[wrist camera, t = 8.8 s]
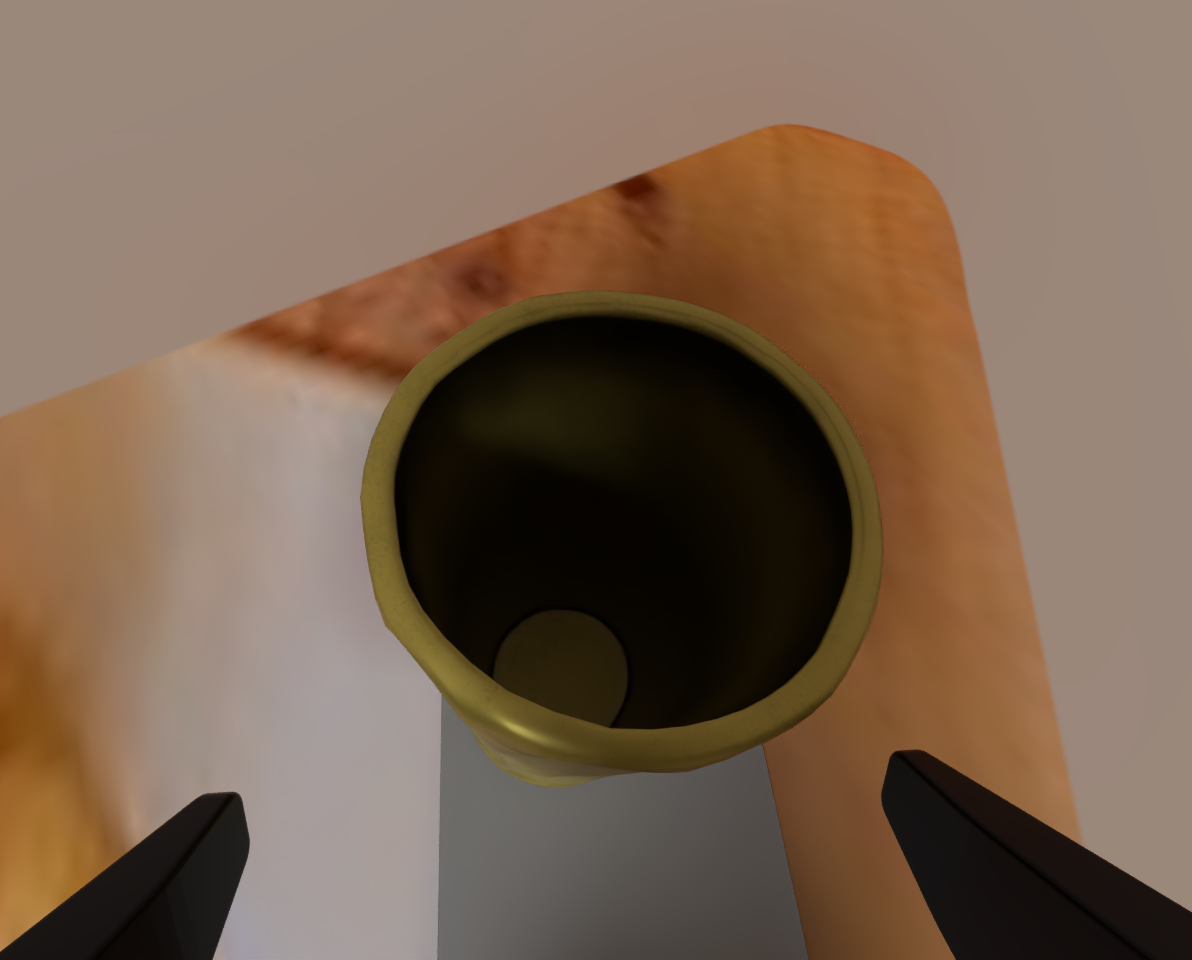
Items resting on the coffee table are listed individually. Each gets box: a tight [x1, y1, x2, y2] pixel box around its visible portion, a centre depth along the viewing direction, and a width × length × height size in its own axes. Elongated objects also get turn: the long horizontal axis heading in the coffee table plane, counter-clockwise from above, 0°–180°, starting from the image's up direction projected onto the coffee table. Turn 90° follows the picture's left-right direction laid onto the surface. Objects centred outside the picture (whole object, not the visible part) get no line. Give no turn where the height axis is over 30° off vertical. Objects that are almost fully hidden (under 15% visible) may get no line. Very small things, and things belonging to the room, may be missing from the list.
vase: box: [360, 291, 883, 788], centre depth 12 cm, size 6×6×14 cm
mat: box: [437, 695, 809, 960], centre depth 18 cm, size 13×10×1 cm
